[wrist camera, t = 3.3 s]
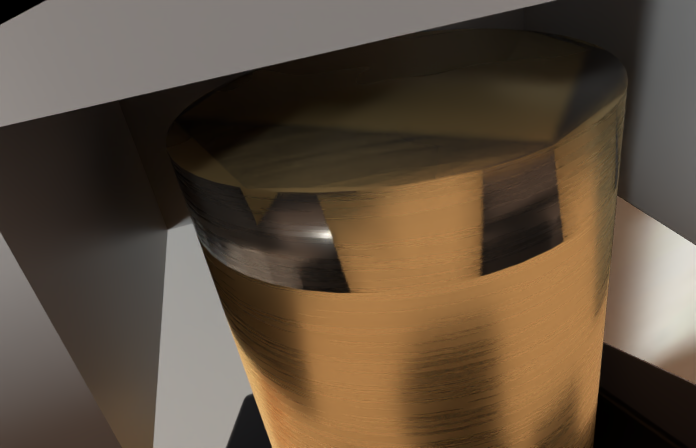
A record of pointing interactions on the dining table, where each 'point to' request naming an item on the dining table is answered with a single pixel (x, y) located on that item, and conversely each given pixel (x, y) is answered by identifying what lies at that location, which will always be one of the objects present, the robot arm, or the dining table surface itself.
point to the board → (195, 354)
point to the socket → (162, 185)
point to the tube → (414, 236)
